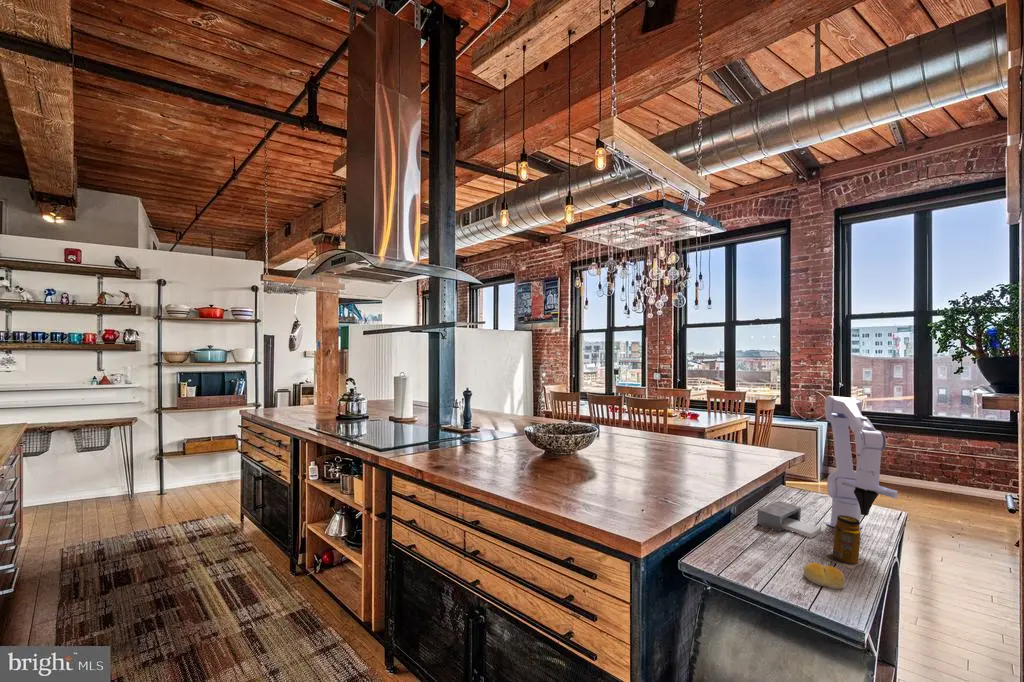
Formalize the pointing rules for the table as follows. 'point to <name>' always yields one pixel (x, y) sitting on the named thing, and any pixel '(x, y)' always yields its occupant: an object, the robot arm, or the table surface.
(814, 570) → the bread roll
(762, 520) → the grey c-shaped bracket
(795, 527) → the tile
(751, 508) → the table surface
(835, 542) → the condiment
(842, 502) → the robot arm
